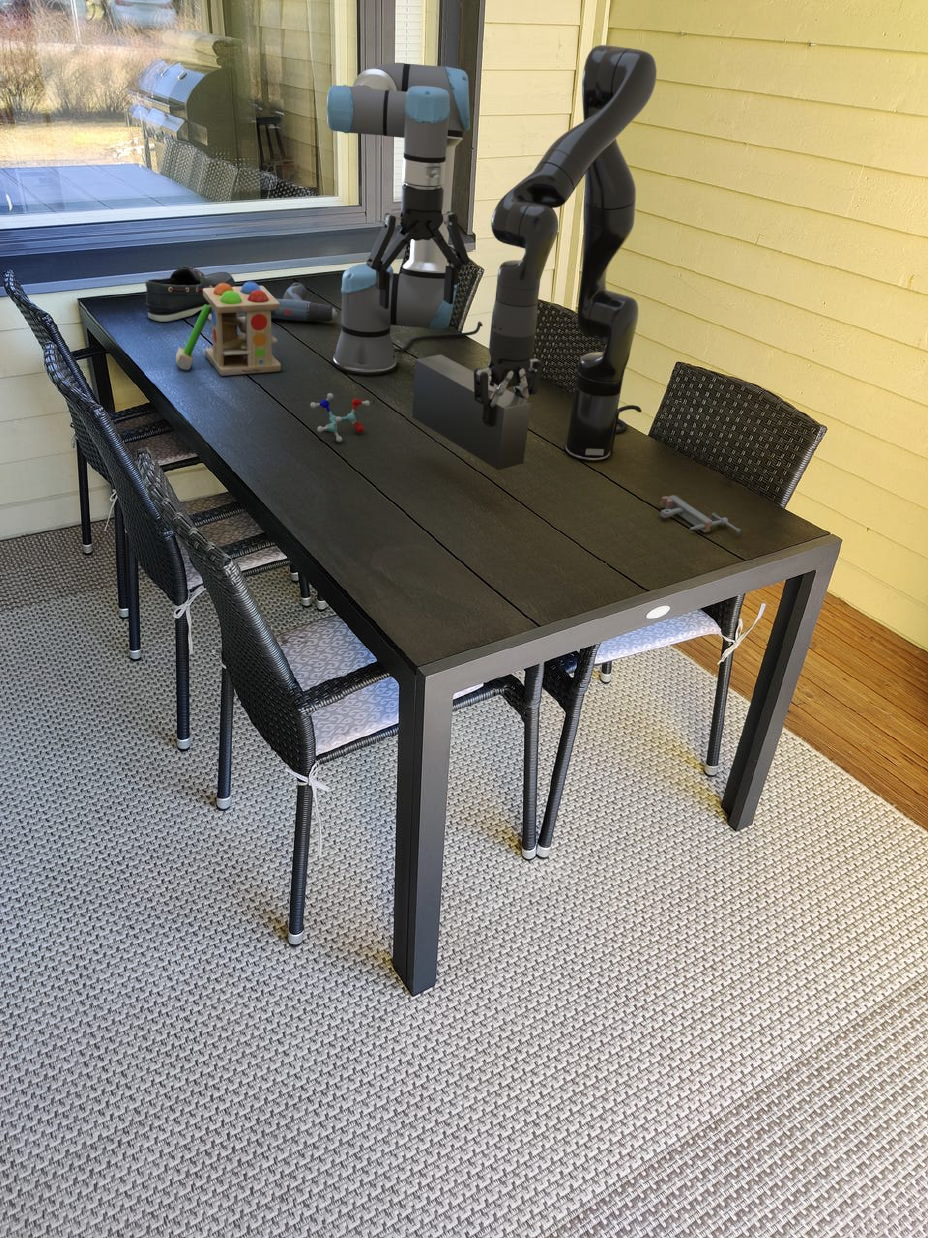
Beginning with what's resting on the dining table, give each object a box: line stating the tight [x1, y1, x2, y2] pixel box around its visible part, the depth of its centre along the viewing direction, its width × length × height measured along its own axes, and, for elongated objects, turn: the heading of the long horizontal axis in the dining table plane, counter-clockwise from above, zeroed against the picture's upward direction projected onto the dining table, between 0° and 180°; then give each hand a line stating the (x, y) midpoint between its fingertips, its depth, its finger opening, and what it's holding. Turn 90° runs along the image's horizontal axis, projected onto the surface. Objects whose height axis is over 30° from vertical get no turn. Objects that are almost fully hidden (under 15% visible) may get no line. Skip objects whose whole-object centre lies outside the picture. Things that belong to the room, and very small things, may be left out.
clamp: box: [659, 494, 742, 534], centre depth 183 cm, size 15×2×10 cm
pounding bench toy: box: [174, 281, 282, 377], centre depth 225 cm, size 23×14×18 cm, turn 116°
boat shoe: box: [144, 265, 237, 323], centre depth 261 cm, size 13×33×10 cm, turn 147°
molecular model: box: [309, 392, 371, 443], centre depth 201 cm, size 12×10×10 cm
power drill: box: [271, 282, 338, 322], centre depth 265 cm, size 5×19×20 cm
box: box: [412, 353, 532, 471], centre depth 180 cm, size 26×6×12 cm, turn 38°
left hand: (416, 304), depth 187 cm, fingers open, 13 cm apart
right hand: (503, 421), depth 173 cm, fingers closed on box, 6 cm apart
